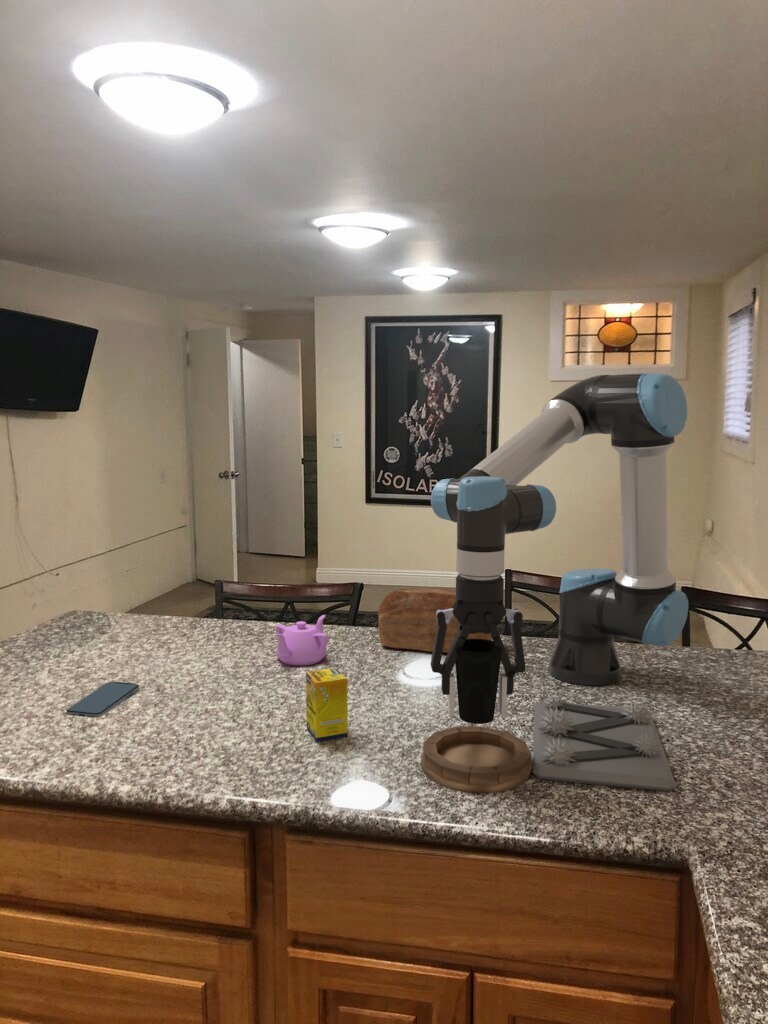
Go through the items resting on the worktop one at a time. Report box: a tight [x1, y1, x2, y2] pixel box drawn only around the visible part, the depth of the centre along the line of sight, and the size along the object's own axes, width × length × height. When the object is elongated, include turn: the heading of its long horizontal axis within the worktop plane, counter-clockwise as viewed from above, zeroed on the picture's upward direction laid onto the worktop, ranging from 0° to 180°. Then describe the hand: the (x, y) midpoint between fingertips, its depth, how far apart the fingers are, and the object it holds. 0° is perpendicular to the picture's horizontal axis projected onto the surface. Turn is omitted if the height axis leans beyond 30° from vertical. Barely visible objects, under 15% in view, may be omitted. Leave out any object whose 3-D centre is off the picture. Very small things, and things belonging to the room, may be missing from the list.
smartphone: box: [66, 681, 140, 718], centre depth 153 cm, size 8×2×15 cm
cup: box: [454, 639, 502, 725], centre depth 124 cm, size 8×8×12 cm
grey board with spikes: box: [532, 691, 677, 792], centre depth 133 cm, size 30×22×7 cm
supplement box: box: [305, 667, 349, 743], centre depth 138 cm, size 6×6×11 cm
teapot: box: [274, 614, 329, 667], centre depth 178 cm, size 12×14×9 cm
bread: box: [377, 587, 493, 654], centre depth 187 cm, size 12×28×14 cm, turn 73°
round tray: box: [420, 726, 533, 794], centre depth 126 cm, size 18×18×3 cm
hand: (476, 712), depth 125 cm, fingers closed on cup, 8 cm apart
